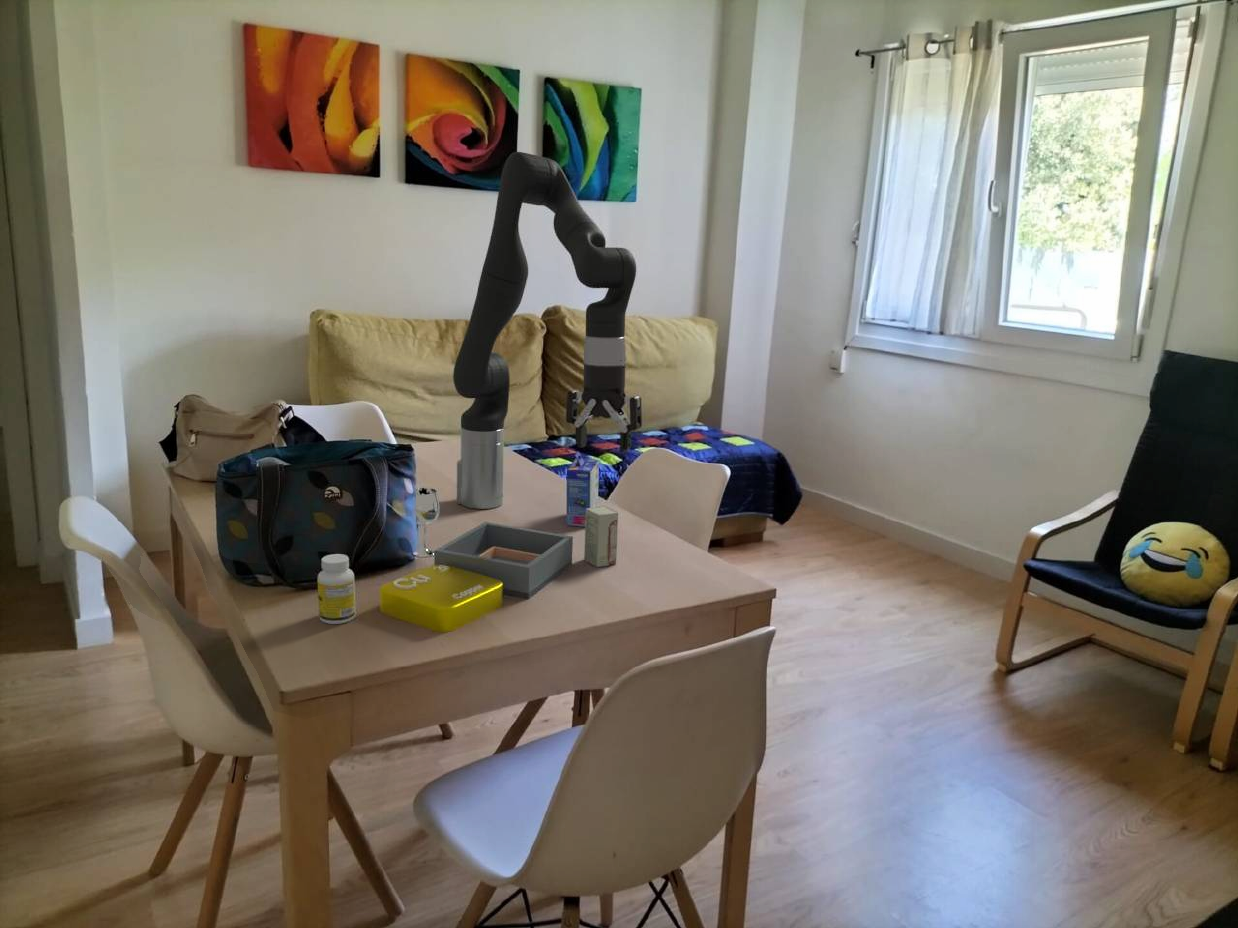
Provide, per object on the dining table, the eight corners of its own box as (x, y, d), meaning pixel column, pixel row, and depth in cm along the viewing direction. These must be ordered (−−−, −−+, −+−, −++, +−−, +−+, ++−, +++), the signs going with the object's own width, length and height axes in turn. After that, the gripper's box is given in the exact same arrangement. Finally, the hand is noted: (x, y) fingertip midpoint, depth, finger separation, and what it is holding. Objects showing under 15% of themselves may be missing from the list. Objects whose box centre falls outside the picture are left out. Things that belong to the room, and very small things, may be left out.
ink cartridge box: (573, 511, 202) (575, 447, 198) (598, 514, 201) (601, 449, 198) (564, 525, 192) (566, 458, 189) (590, 527, 192) (593, 460, 188)
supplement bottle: (323, 610, 145) (321, 551, 143) (358, 611, 146) (357, 552, 144) (315, 624, 140) (313, 564, 138) (351, 625, 141) (350, 564, 138)
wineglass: (445, 551, 174) (445, 490, 171) (427, 560, 169) (427, 497, 166) (420, 545, 176) (420, 485, 173) (401, 554, 171) (401, 492, 168)
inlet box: (434, 580, 160) (434, 550, 158) (484, 549, 176) (485, 521, 175) (528, 598, 154) (529, 567, 152) (571, 564, 170) (572, 536, 169)
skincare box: (617, 564, 171) (619, 512, 169) (596, 568, 169) (598, 515, 167) (603, 555, 176) (605, 505, 173) (582, 559, 173) (584, 507, 171)
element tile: (445, 637, 139) (445, 607, 138) (374, 612, 147) (373, 584, 146) (508, 606, 152) (508, 578, 150) (439, 584, 159) (439, 558, 158)
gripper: (559, 360, 166) (559, 449, 169) (632, 366, 160) (630, 458, 164) (578, 356, 172) (577, 441, 176) (649, 362, 167) (646, 449, 170)
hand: (602, 449), depth 170 cm, fingers open, 8 cm apart
